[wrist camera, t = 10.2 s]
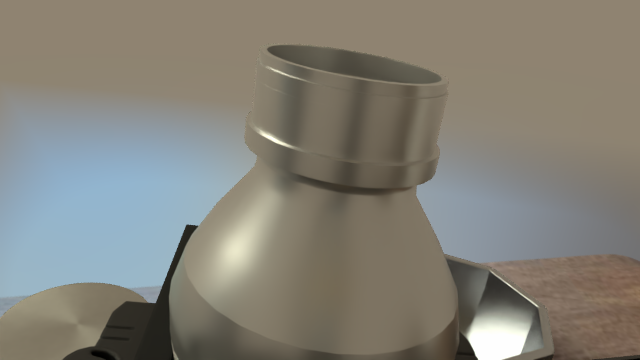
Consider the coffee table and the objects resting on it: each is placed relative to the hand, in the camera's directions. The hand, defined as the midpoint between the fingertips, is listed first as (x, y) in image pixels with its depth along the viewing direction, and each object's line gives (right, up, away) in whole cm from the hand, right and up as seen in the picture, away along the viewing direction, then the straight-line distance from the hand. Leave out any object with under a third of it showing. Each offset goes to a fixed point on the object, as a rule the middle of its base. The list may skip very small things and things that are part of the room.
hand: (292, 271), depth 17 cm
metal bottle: (-1, -13, 0) cm, 13 cm away
